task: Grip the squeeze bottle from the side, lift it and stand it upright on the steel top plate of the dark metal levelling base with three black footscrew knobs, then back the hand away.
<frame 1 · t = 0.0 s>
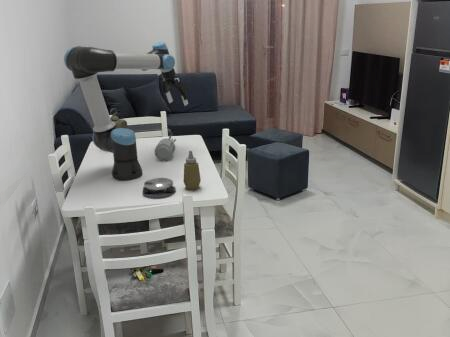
hand: (178, 103, 253), 28 cm above the table, tool tilted 20°, fingers open, 13 cm apart
olive green container: (118, 148, 267), on the table
squeeze bottle: (192, 188, 202), on the table
levelling base: (159, 192, 198), on the table
device: (167, 153, 255), on the table
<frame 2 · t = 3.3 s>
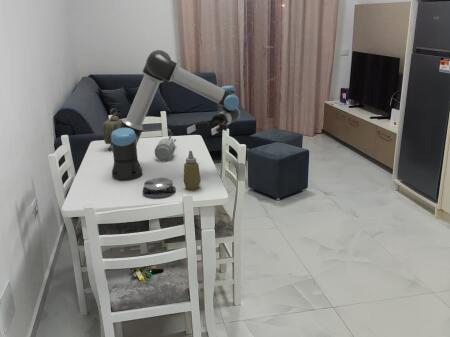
hand: (199, 131, 204), 24 cm above the table, tool horizontal, fingers open, 13 cm apart
nothing on the table moved.
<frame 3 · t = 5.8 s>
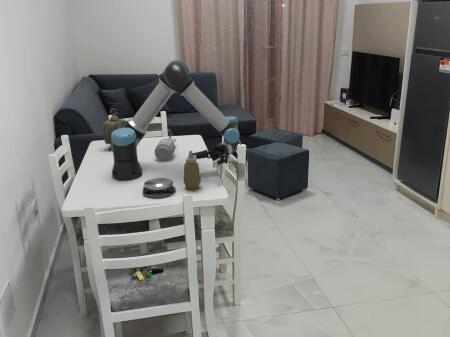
hand: (200, 163, 205), 10 cm above the table, tool horizontal, fingers open, 13 cm apart
nothing on the table moved.
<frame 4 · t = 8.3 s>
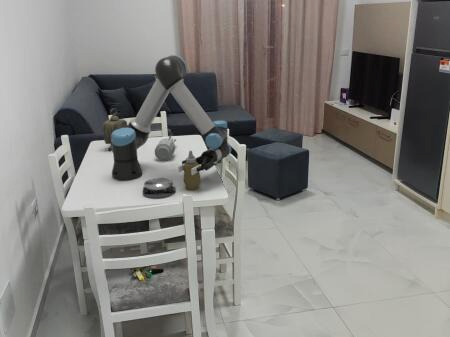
hand: (185, 170, 195), 10 cm above the table, tool horizontal, fingers closed on squeeze bottle, 6 cm apart
squeeze bottle: (192, 188, 202), on the table, touching gripper
everything else where it was.
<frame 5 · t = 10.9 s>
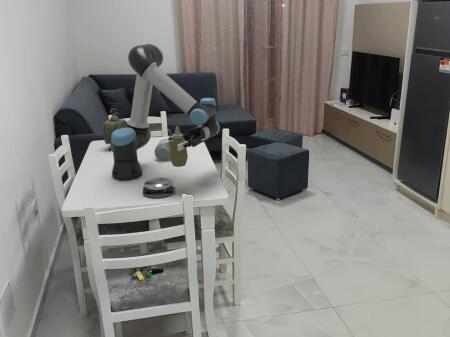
hand: (171, 146, 188), 22 cm above the table, tool horizontal, fingers closed on squeeze bottle, 6 cm apart
squeeze bottle: (179, 165, 196), point 12 cm above the table, touching gripper
everything else where it was.
when the fingers open (16 cm above the table, at t = 13.5 s): squeeze bottle drops 1 cm, resting on levelling base.
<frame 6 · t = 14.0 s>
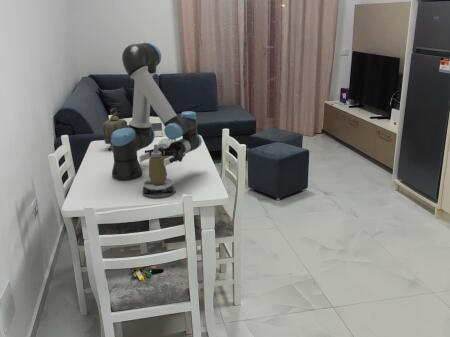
hand: (152, 161, 190), 16 cm above the table, tool horizontal, fingers open, 13 cm apart
squeeze bottle: (158, 183, 197), point 4 cm above the table, touching levelling base
everything else where it was.
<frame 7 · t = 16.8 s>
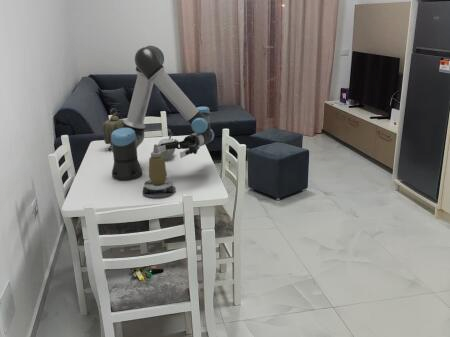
hand: (168, 153, 200), 16 cm above the table, tool horizontal, fingers open, 13 cm apart
nothing on the table moved.
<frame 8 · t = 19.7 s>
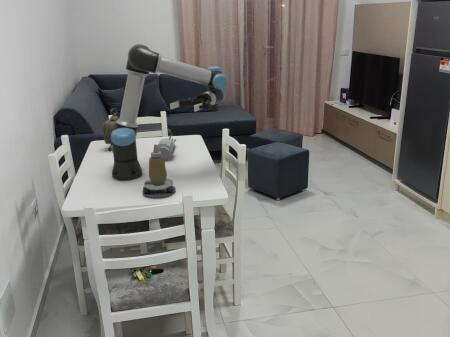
hand: (182, 107, 205), 35 cm above the table, tool horizontal, fingers open, 13 cm apart
nothing on the table moved.
at the end: squeeze bottle inside the target area on the levelling base (0.0 cm from its centre), point 4.3 cm above the levelling base's base; squeeze bottle tilted 0°; the gripper is holding nothing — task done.
